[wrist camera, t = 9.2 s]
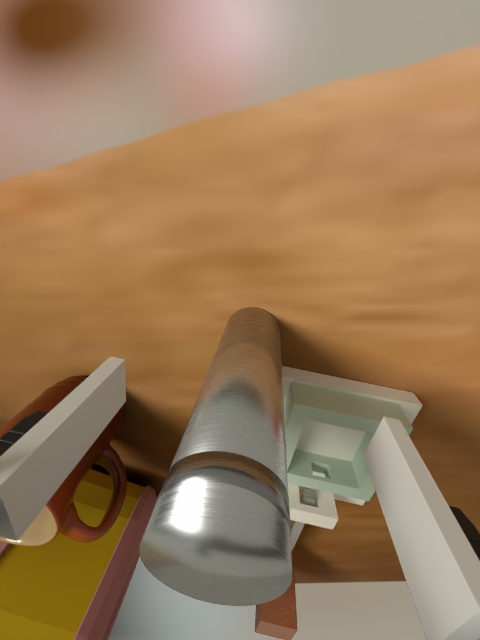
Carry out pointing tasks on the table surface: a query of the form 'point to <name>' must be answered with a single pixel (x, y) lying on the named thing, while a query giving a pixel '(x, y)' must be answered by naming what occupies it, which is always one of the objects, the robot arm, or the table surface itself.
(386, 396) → the dock
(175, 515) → the silver metal cylinder
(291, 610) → the pin
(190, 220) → the table surface
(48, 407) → the mug
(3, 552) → the alarm clock
